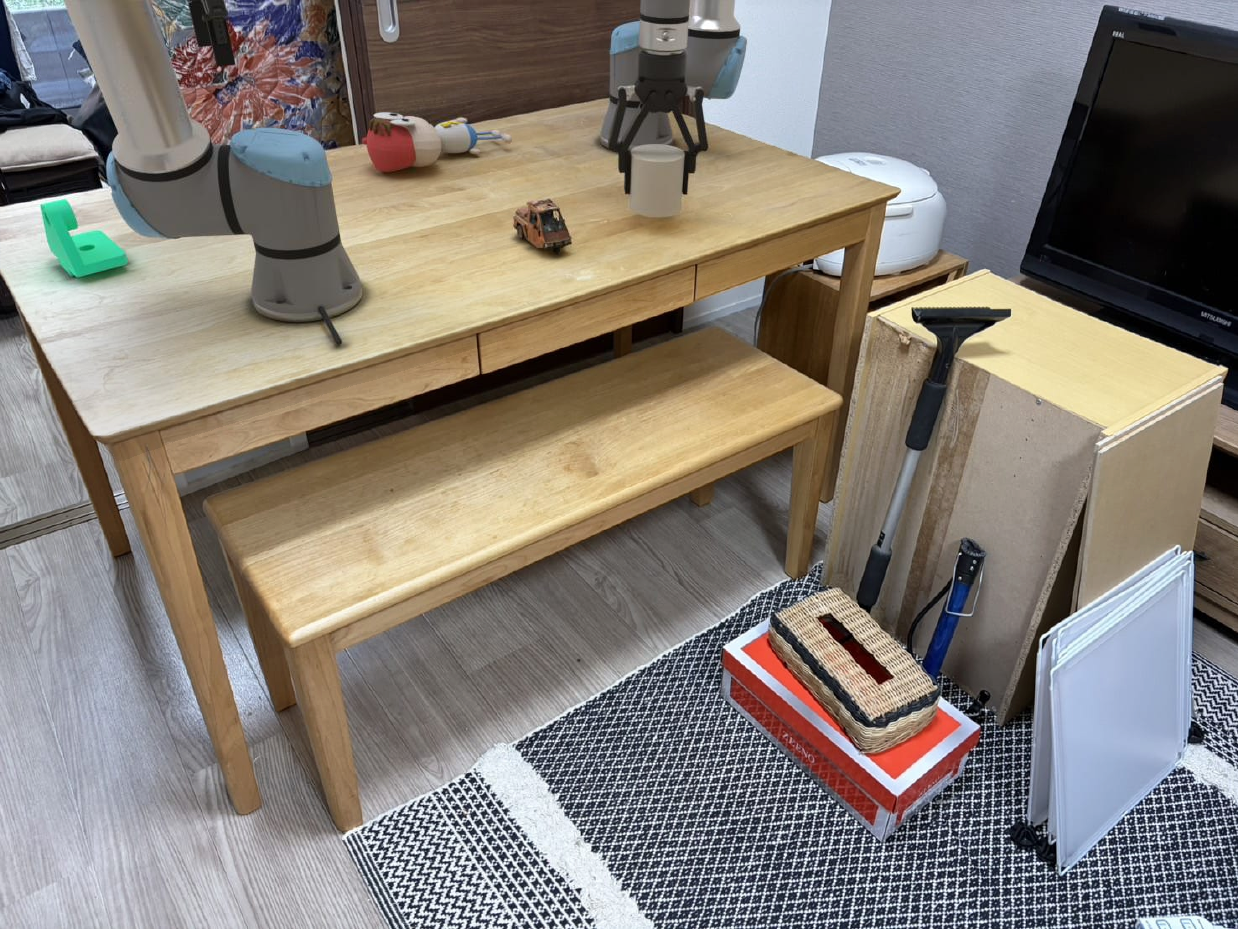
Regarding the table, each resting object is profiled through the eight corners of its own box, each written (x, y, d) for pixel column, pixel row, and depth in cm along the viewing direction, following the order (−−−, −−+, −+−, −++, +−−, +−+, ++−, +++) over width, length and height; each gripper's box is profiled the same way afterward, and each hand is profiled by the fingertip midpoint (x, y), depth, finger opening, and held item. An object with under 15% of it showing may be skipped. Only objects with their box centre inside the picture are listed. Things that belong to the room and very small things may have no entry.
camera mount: (132, 270, 140) (111, 204, 134) (79, 284, 136) (55, 217, 130) (104, 244, 147) (84, 181, 141) (53, 257, 143) (29, 192, 137)
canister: (658, 194, 163) (661, 140, 158) (691, 210, 158) (696, 155, 152) (617, 204, 159) (619, 149, 153) (650, 221, 153) (653, 165, 148)
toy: (528, 119, 180) (378, 122, 165) (527, 172, 185) (381, 180, 170) (487, 104, 193) (345, 105, 178) (486, 154, 198) (348, 160, 183)
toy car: (537, 226, 158) (536, 186, 154) (580, 250, 150) (580, 209, 146) (506, 235, 154) (504, 194, 150) (548, 260, 147) (547, 218, 143)
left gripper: (228, -92, 127) (260, 71, 140) (191, -111, 144) (223, 36, 157) (169, -90, 124) (208, 76, 136) (139, -110, 141) (176, 40, 153)
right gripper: (593, 54, 140) (592, 199, 153) (736, 56, 141) (722, 199, 154) (591, 42, 146) (590, 183, 159) (728, 44, 147) (716, 184, 160)
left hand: (216, 55), depth 147 cm, fingers open, 13 cm apart
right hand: (655, 191), depth 157 cm, fingers closed on canister, 9 cm apart
